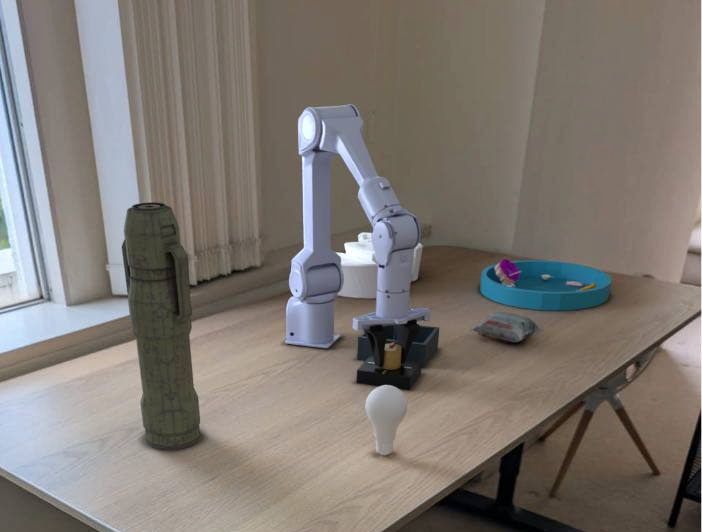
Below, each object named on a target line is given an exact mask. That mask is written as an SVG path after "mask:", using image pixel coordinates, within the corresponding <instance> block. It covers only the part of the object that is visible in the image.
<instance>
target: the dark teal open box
mask: <svg viewBox="0 0 702 532" xmlns="http://www.w3.org/2000/svg"><path fill="white" fill-rule="evenodd" d="M419 325H420V331H419V333H418V334H417V336H416V337H415V339H414V341H413V343H412V345H411V347H410V349H409V352H408V355H407V358H406V360H408V361H417V362H422V367H421V369H425V368H426V366H427V364H429V362H430V361H431V359H432V358H433V356H434V355H435V354H436V353H437V351H438V350H439V337H440V327H439V326H431V325H422V324H419ZM382 329H384V332H386V333H387V334H388V336H387V340H386V344H391V343H392V342H395V344H397V340H393V336H394V325H389V326H382ZM356 354H357V355H356V360H357V361H363V362H365V361H366V360H367V359H368V358H369V357H370V356H373V353H372V349H371V346H370V343H369V340H368V338H367V336H366V334H365V332H364V330H363V331H361V333H360V334H359V335H358V336H357V353H356Z"/></svg>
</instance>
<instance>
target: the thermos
mask: <svg viewBox="0 0 702 532" xmlns="http://www.w3.org/2000/svg"><path fill="white" fill-rule="evenodd" d="M123 235H124V239H123V242H122V245H121V254H122V260H123V261H122V262H123V268H124V276H125V285H126V293H127V303H128V311H129V319H130V329H131V333H132V334H133V336H134V338H135V342H136V349H137V357H138V365H139V366H138V367H139V373H140V380H141V382H140V383H141V390H142V394H141V398H140V401H139V402H140V409H141V410H140V412H141V420H142V426H143V428H144V431H145V442H146V443H147V445H148V446H150V447H151V448H154V449H158V450H165V451H173V450H174V451H175V450H181V449H186V448H188V447H192V446H194V445H195V444H197V443H198V442H199V441H200V439H201V430H200V424H201V413H200V403H199V402H200V401H199V395H198V393H197V391H196V389H195V384H194V371H193V361H192V349H191V339H190V337H191V336H190V335H191V331H192V315H193V309H192V302H191V284H190V269H189V268H190V266H189V256H188V254H187V252H186V250H185V248H184V246H183V245H182V244H181V236H180V226H179V223H178V220H177V218H176V215H175V213H174V211H173V208H172V207H171V206H169V205H167V204H166V203H164V202H155V201H153V202H140V203H136V204H132V206H131V207H129V208H127V210H126V214H125V220H124V227H123Z"/></svg>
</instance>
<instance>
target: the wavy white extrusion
mask: <svg viewBox="0 0 702 532" xmlns="http://www.w3.org/2000/svg"><path fill="white" fill-rule="evenodd" d="M371 233H372V232H360V233H359V234H358V235H357V239H358V240H357V241H349V242H345V243H343V245H344V250H345V252H336V251H334V252H335V253H336V254H338V255H339V256H340V257H341V267H342V271H343V275H344V283H343V287H342V289H341V291H340V292H339V293H338V297H345V298H354V299H377V273H378V263H377V262H376V259H375V249H374V246H373V243H372V238H371ZM423 247H424V245H423V244H422V243H421V242H419V244H418V245H417V247H416V248H414V249H412V262H411V278H410V284H412V282H415V281H417V280H418V279H419V272H420V268H421V267H420V266H421V260H422V253H423V249H424V248H423Z"/></svg>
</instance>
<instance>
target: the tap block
mask: <svg viewBox="0 0 702 532" xmlns="http://www.w3.org/2000/svg"><path fill="white" fill-rule="evenodd" d="M421 367H422V362H417V361H408V360H406V362H405V363H404V364H402V363H401V367H400V368H398V369H393V370H388V369H383V368H380V367H378V366H376V365H375V364H374V357H373V356H370V357H369V358H368V359H367V360H366V361H363V363H362V364H361V365H360V366H359V367H358V368H357V369H356V384H362V385H368V386H374V387H375V386H376V387H379V386H383V385H391V386H394V387H396V388H398V389H399V390H406V391H411V389H412V388H413V386H414V385H415V383H416V382H417V381H418V380H419V378H420V377H421V375H422V368H421Z"/></svg>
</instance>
